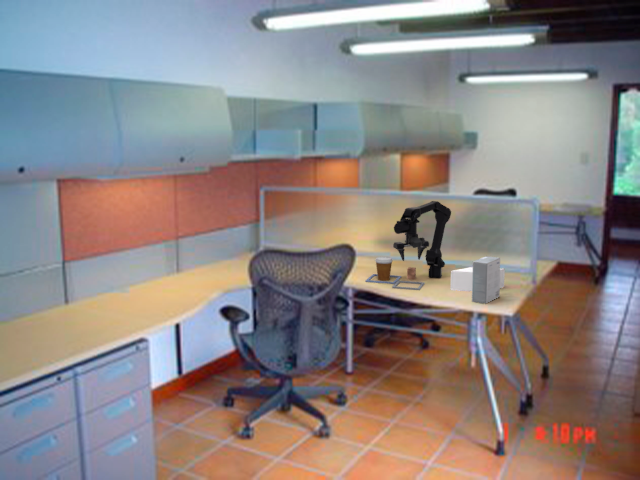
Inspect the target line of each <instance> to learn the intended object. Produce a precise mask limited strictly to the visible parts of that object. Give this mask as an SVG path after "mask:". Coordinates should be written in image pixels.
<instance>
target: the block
mask: <svg viewBox="0 0 640 480" xmlns="http://www.w3.org/2000/svg"><path fill="white" fill-rule="evenodd" d="M416 270H417V268H416V267H411V266H409V267H407V268H406V271H407V272H406V280H411V281H412V280H413V281H414V280H416V278H417V275H416V274H417V271H416Z"/></svg>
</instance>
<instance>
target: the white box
mask: <svg viewBox="0 0 640 480" xmlns="http://www.w3.org/2000/svg"><path fill="white" fill-rule="evenodd" d="M472 272H473V266H470V267H465V268H459V269H453V270H451V271H450V291H456V290H457V291H460V292H470V291H472ZM505 274H506V271H505V268H500V288H501V289H503V288H502V287H504V288H505Z"/></svg>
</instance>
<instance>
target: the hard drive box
mask: <svg viewBox="0 0 640 480" xmlns="http://www.w3.org/2000/svg"><path fill="white" fill-rule="evenodd" d="M472 267H473V272H472V292H471V302H472V303H477V302H479V304H483V303H485V305H487V304H489V303H491V302H492V300H493V301H495V300H496V298H497V299H499V298H500V294H501V293H500V290H501V289H500V269H501V257H497V256H496V257H495V256H487V255H486V256H483V257H480V258H479V259H476V260H474V261H472ZM498 297H499V298H498ZM494 299H495V300H494ZM490 301H491V302H490ZM488 302H489V303H488ZM486 303H487V304H486Z"/></svg>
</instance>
